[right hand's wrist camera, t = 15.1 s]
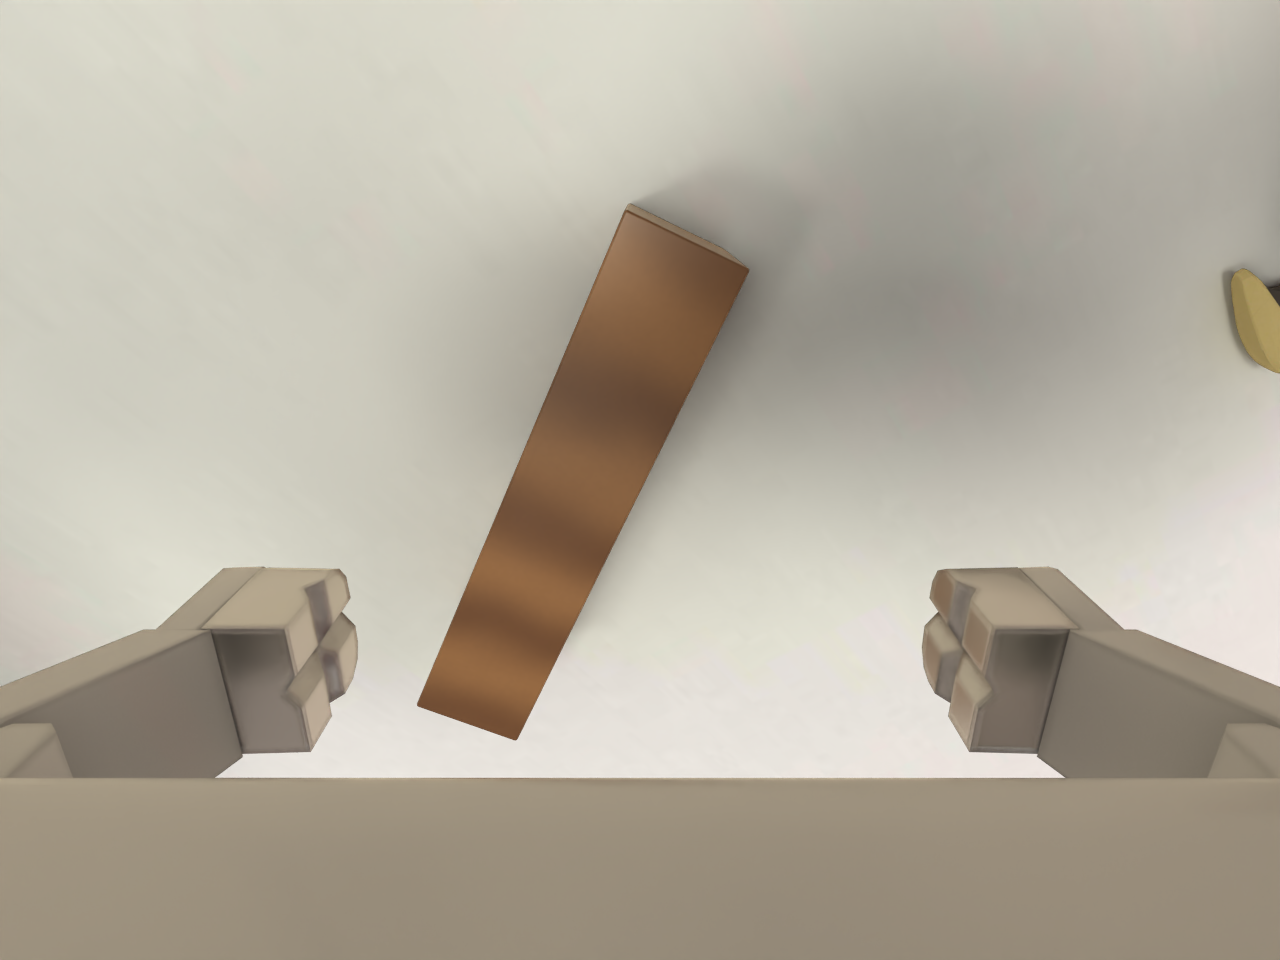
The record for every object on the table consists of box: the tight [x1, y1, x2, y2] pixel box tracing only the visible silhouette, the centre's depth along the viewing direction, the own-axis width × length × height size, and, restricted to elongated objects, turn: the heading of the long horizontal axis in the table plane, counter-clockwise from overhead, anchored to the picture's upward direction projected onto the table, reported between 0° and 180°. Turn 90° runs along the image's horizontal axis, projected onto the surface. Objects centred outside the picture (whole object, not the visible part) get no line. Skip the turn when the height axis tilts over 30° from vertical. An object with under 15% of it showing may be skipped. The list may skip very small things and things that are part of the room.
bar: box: [417, 204, 749, 740], centre depth 33 cm, size 23×5×8 cm, turn 156°
